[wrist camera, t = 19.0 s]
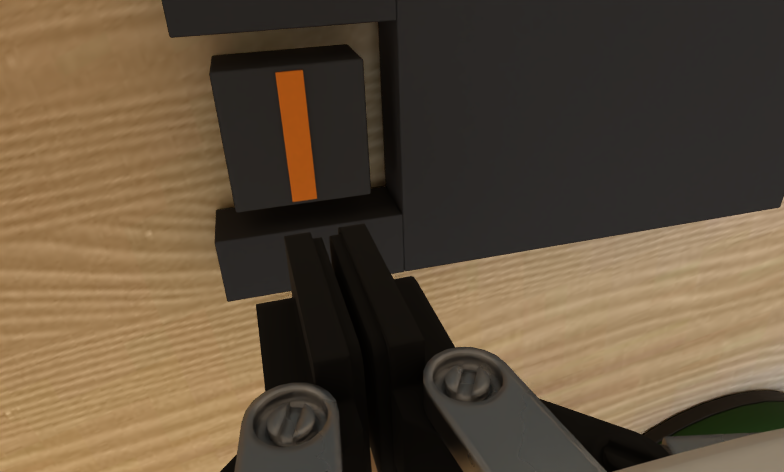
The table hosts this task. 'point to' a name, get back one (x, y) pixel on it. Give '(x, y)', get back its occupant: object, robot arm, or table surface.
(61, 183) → the table surface
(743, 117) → the black notched block
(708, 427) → the desk lamp
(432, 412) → the robot arm
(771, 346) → the table surface
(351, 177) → the tile
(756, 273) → the table surface
